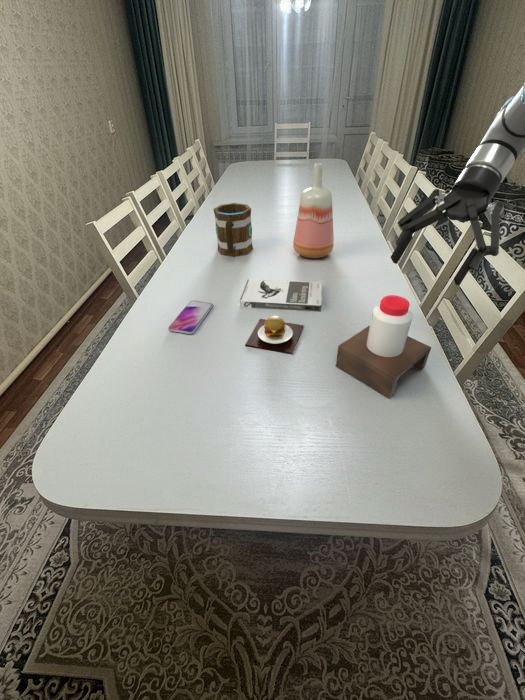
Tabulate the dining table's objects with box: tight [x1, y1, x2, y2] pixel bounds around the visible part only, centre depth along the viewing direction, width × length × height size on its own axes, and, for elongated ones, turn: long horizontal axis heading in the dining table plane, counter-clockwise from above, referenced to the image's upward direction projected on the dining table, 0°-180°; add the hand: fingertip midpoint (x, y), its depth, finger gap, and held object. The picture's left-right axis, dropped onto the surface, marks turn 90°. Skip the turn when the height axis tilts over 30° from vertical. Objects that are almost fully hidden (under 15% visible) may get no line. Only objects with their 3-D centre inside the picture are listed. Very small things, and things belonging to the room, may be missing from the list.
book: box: [239, 278, 323, 313], centre depth 106 cm, size 23×14×2 cm, turn 82°
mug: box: [212, 202, 254, 258], centre depth 129 cm, size 20×14×15 cm
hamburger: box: [244, 315, 304, 355], centre depth 90 cm, size 12×12×6 cm
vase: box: [292, 162, 335, 259], centre depth 122 cm, size 14×14×30 cm
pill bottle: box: [366, 294, 414, 357], centre depth 74 cm, size 8×8×11 cm
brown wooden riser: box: [335, 324, 432, 399], centre depth 79 cm, size 14×14×6 cm
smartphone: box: [167, 300, 214, 335], centre depth 99 cm, size 7×1×15 cm
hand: (423, 271), depth 72 cm, fingers open, 13 cm apart
